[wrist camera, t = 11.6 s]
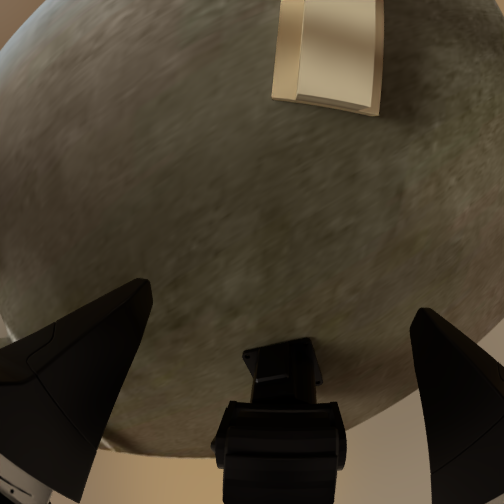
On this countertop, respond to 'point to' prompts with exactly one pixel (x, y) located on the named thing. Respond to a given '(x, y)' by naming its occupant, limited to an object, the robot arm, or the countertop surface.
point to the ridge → (330, 54)
